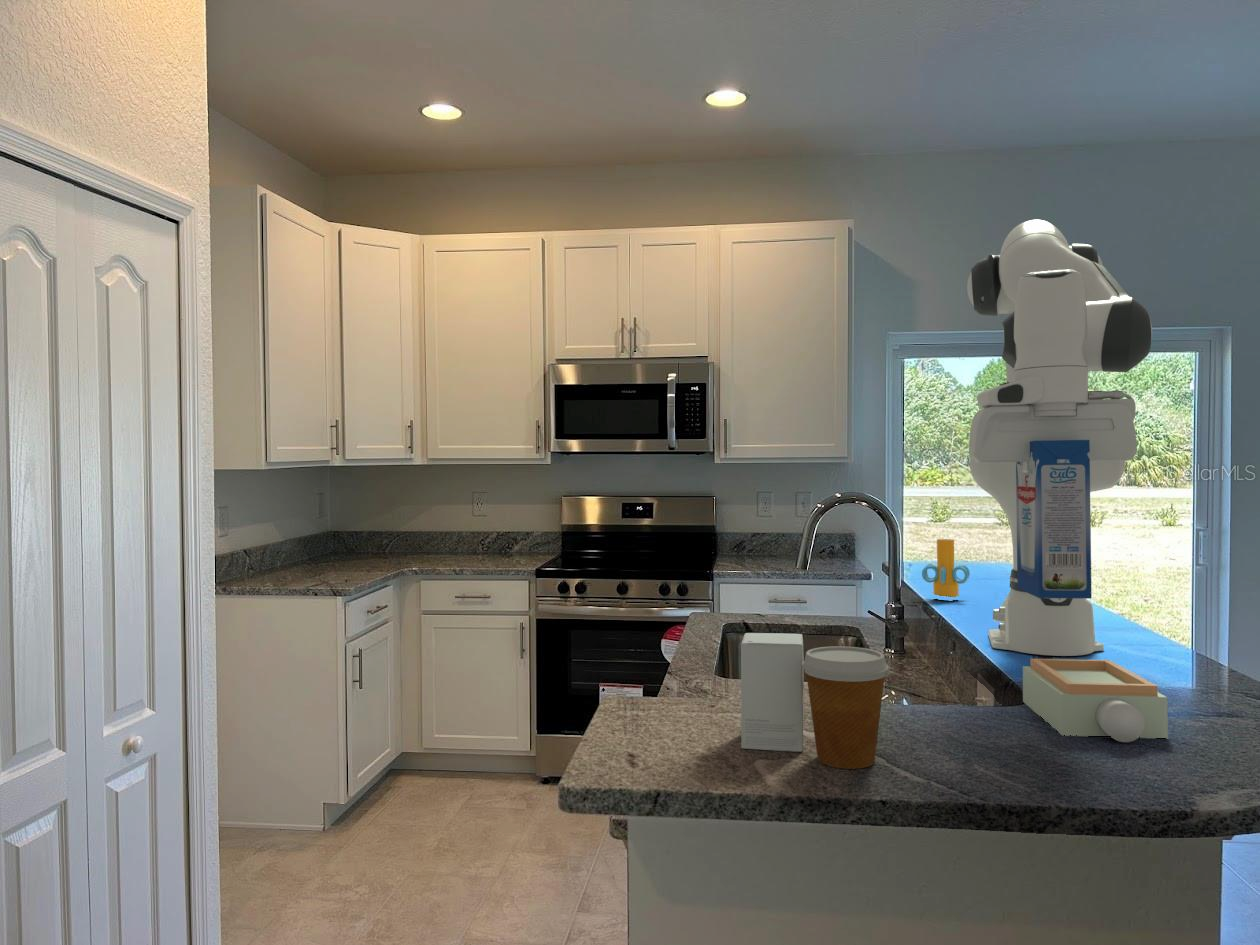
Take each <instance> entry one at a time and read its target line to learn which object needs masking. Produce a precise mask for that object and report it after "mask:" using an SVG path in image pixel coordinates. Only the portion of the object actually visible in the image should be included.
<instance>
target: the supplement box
mask: <svg viewBox="0 0 1260 945" xmlns="http://www.w3.org/2000/svg"><path fill="white" fill-rule="evenodd" d="M803 661H805V657H804V638H803V634H802V633H783V632H780V633H779V632H778V633H777V632H776V633H775V632H745V633H744V635H743V637H742V640H741V644H740V682H741V683H740V693H741V694H740V699H741V700H740V701H741V702H740V706H741V707H740V709H741V710H740V711H741V714H740V715H741V717H740V718H741V720H740V722H741V724H740V725H741V726H740V727H741V728H740V730H741V731H740V732H741V737H740V738H741V740H740V741H741V745H740V746H741V749H747V750H761V751H762V750H763V751H779V752H796V753H797V752H798V753H799V752H800V753H801V752H803V750H804V715H805V714H804V711H805V710H804V705H805V704H804V702H805V701H804V700H805V699H804V698H805V693H804V691H805V690H804V688H805V687H804V682H805V681H804V677H805V676H804V674H805V671H804V668H803V666H802V663H803Z"/></svg>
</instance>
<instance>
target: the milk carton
mask: <svg viewBox="0 0 1260 945" xmlns="http://www.w3.org/2000/svg"><path fill="white" fill-rule="evenodd" d="M1016 506H1017V586H1018V589H1020V590H1023V591H1025V592H1027V593H1029V594H1031V595H1034V596H1036V597H1038V598H1078V599H1087V600H1089V599H1090V600H1091V599H1092V595H1093V594H1092V544H1091V543H1092V534H1091V533H1092V531H1091V530H1092V527H1091V524H1092V523H1091V521H1092V520H1091V492H1090V440H1047V441H1030V461H1029V462H1028V473H1025V472H1023V462H1016Z"/></svg>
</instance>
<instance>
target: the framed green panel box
mask: <svg viewBox="0 0 1260 945" xmlns="http://www.w3.org/2000/svg"><path fill="white" fill-rule="evenodd" d="M1158 690H1159V689H1158V685H1156V684H1154V683H1153V682H1151V681H1149V680H1147V679H1145V678H1143V677H1142V676H1140V675H1138V674H1136V673H1134V672H1133V671H1130V670H1129V669H1126V668H1124V667H1123V666H1121V665H1119V664H1117V663H1116V662H1114V661H1112V660H1109V659H1081V658H1080V659H1079V658H1078V659H1073V658H1071V659H1070V658H1067V659H1066V658H1030V665H1028V666H1027V665H1026V666H1025V665H1022V702H1023V703H1024V704H1025V705H1026V706H1027V707H1028V708H1030V709H1031V710H1032V712H1034V713H1035V714H1037V716H1039V717H1040V716H1041V717H1042V718H1043V719H1044V720H1043V719H1042V718H1041V717H1040V718H1041V719H1042V720H1043V721H1045V722H1046V723H1047V722H1048V723H1049V724H1050V725H1051V726H1050V725H1049V724H1048V723H1047V724H1048V725H1049V726H1050V727H1052V729H1054V728H1055V729H1056V730H1057V731H1058V732H1057V731H1056V730H1055V729H1054V730H1055V731H1056V732H1057V733H1058V734H1060V735H1061V736H1062V737H1088V736H1111V737H1110V738H1112V739H1114V740H1115V741H1117V742H1120V743H1131V742H1134V741H1136V740H1137V739H1156V738H1166V739H1165V740H1168V739H1169V738H1168V737H1169V734H1168V733H1169V729H1168V728H1169V725H1168V722H1169V721H1168V719H1169V717H1168V710H1169V709H1168V696H1166V695H1164V694H1162V693H1161V692H1159V691H1158ZM1064 735H1065V736H1064ZM1070 735H1071V736H1070ZM1076 735H1077V736H1076ZM1139 737H1140V738H1139Z"/></svg>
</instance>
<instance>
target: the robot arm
mask: <svg viewBox="0 0 1260 945" xmlns="http://www.w3.org/2000/svg"><path fill="white" fill-rule="evenodd" d="M966 287H967V288H966V292H967V296H968V299H969V302H970V303H971V305H972V306H973V310H974V311H975V312H977V313H978V314H979V315H981V316H982V315H983V316H990V317H991V316H992V317H994V316H995V317H997V316H998V314H999V315H1008V316H1007V317H1005V319H1004V320H1003V321H1001V325H1002V327H1003V352H1002V356H1001V359H1002V360H1003V361H1005V371H1006V372H1005V373H1006V382H1002V383H1001V384H998V386H994V387H991V388H988V389H986V390H984V391H981V392H979V394H978V395H977V406H978V407H980V408H981V409H979V410H978V411H977V412H975V414H974V415H973V417H972V419H971V420H972V421H971V424H970V430H969V440H968V455H969V457H970V458H969V470H970V473H971V477H972V479H973V480H974V482H975V483H976V485H978V487H980V488H981V489H982V490H983V491H985V492H986V493H987V494H988V495H990V496H991V497H992V498H993V499H995V501H996V502H997V503H998V504H999V506H1000V507H1001V508H1002V511H1003V512H1004V513H1005V516H1006V518H1007V520H1008V524H1009V527H1010V533H1011V541H1012V542H1011V543H1012V556H1013V557H1012V558H1013V559H1012V560H1013V561H1012V562H1013V568H1011V570H1010V576H1009V586H1008V587H1009V588H1010V590H1009V592H1008V594H1007V596H1006V598H1005V599H1004V601H1003V603H1002V604H1001V606H999V607H998V608H994V609H992V621H994V622H998V628H993V629H988V634H989V635H988V638H989V642H990V645H991V647H992V648H993V649H997V650H1004V651H1005V650H1008V651H1013V652H1018V653H1023V654H1025V653H1026V654H1031V655H1040V656H1057V657H1059V656H1061V657H1069V656H1070V657H1073V656H1075V657H1076V656H1085V655H1089V654H1092V653H1094V652H1100V651H1104V650H1105V648H1104V647H1105V646H1104V644H1103V643H1101V642H1098V641H1096V631H1095V618H1094V608H1093V604H1092V603H1091V602H1090V601H1089V599H1078V598H1038V597H1036V596H1034V595H1031V594H1029V593H1027V592H1025V591H1023V590H1020V589H1018V586H1017V506H1016V462H1023V472H1025V473H1028V462H1029V461H1030V441H1047V440H1090V493H1093V492H1099V491H1103V490H1104V491H1105V490H1107V489H1111V488H1113V487H1115V486H1116V485H1117V484H1118V482H1119V481H1120V480H1121V478H1122V477H1123V474H1124V471H1125V468H1126V462H1128V461H1132V460H1133V458H1134V457H1136V455H1137V453H1138V445H1137V444H1138V442H1137V433H1136V427H1135V423H1134V422H1135V421H1134V420H1135V418H1136V415H1137V414H1136V413H1137V412H1136V401H1135V399H1134V398H1133V397H1132V396H1131V395H1130V394H1128V393H1126V392H1125V393H1124V391H1123V390H1118V389H1117V390H1110V391H1107V390H1106V391H1104V390H1089V372H1104V373H1105V372H1107V373H1108V372H1109V373H1127V372H1128V373H1129V371H1130V370H1132V369H1133V368H1135V367H1136V366H1138V365H1139V364H1140V363H1141V362H1142V361H1144V359H1145V358H1146V357H1147V356H1148V355H1149V353H1150V350H1151V346H1152V340H1153V326H1152V321H1151V318H1150V315H1149V313H1148V310H1147V309H1146V307H1145V306H1144V305H1142V304H1141V303H1140V302H1139V301H1137V299H1135V298H1134V297H1132V296H1129V295H1128V294H1127V293H1126V291H1125V290H1124V289H1123V287H1122V286H1121V285H1120V284H1119V282H1118V281H1117V280H1116V278H1114V277H1113V275H1112V274H1111V272H1109V271H1108V269H1107V268H1106V267H1104V265H1103V261H1102V259H1101V257H1100V255H1099V254H1098V250H1097V249H1096V248H1095V247H1094V246H1092V245H1091V244H1085V243H1071V245H1069V243H1068V240H1067V238H1066V237H1065V236H1064V234H1063V232H1062V231H1061V230H1060V229H1059V228H1057V227H1056V226H1055V225H1054V224H1052V223H1050V222H1048V221H1046V220H1042V219H1031V220H1027V221H1023V222H1021V223H1019V224H1018V225H1016V226H1015V227H1014V228H1012V230H1011V231H1010V232H1009V233H1008V234H1007V236H1006V237H1005V239H1004V241H1003V243H1002V246H1001V249H1000V253H999V254H994V255H993V253H990V254H988V256H987V257H985V258H983V259H981V260H979V261H977V262H976V263H975V264H974V265H973V266H972V268H971V269H970V273H969V276H968V278H967V285H966Z"/></svg>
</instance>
